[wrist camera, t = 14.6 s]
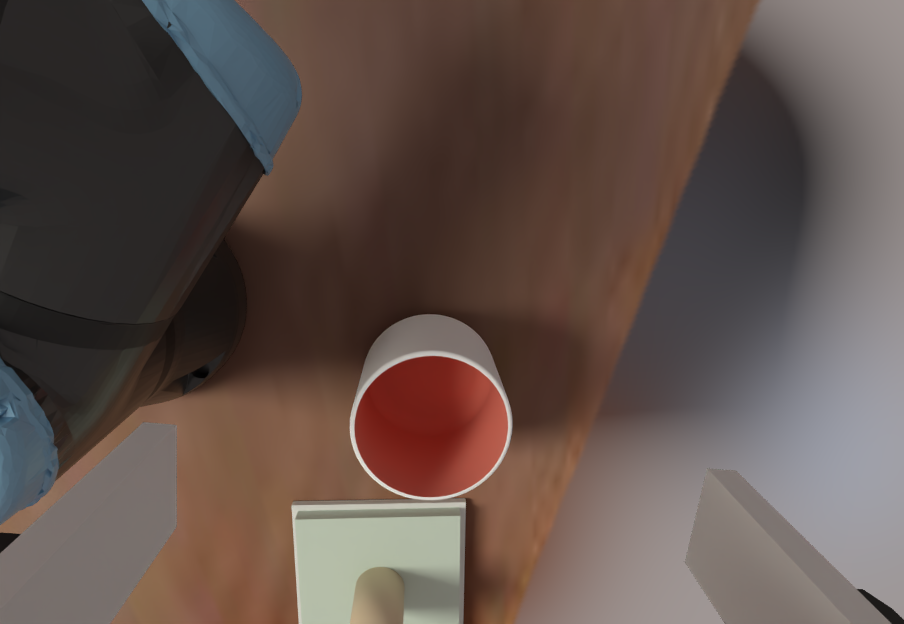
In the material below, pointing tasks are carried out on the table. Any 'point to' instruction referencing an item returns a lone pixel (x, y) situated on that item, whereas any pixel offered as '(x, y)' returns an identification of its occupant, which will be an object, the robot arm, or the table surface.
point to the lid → (379, 566)
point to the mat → (386, 505)
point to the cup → (430, 409)
